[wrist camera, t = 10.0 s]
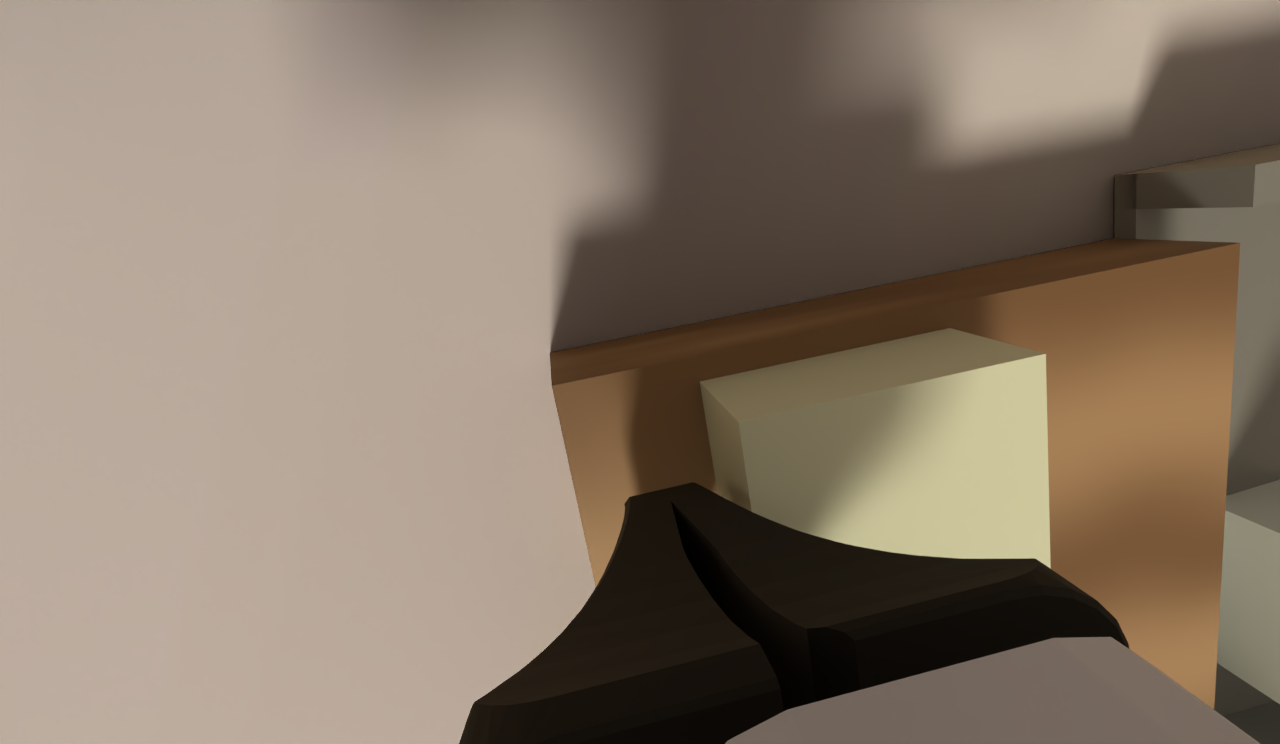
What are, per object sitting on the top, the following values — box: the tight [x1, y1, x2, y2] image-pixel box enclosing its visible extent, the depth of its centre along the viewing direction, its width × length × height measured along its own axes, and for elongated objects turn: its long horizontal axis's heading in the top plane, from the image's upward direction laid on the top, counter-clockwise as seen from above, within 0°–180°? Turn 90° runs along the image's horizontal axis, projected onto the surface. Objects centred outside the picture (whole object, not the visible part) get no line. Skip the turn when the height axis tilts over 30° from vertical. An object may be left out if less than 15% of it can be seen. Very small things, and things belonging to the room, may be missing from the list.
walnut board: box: [550, 238, 1240, 709], centre depth 16 cm, size 14×14×3 cm
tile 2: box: [700, 328, 1051, 569], centre depth 12 cm, size 5×5×2 cm
